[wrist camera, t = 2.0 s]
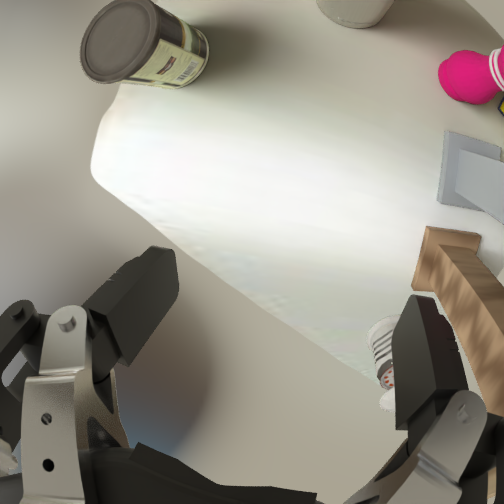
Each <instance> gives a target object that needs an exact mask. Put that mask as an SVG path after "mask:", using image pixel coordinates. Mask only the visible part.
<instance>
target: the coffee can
mask: <svg viewBox="0 0 504 504" xmlns="http://www.w3.org/2000/svg"><path fill="white" fill-rule="evenodd" d="M208 57H209V45H208V41H207V39H206V37H205V36H204V35H203V33H202V32H200V31H199V30H198V29H196V28H194V27H192V26H190V25H189V24H187V23H186V22H184V21H182V20H181V19H179V18H178V17H176V16H174V15H173V14H171V13H170V12H168V11H166V10H165V9H163V8H161V7H159V6H158V5H156V4H154V3H153V2H152V1H151V0H114V1H113V2H111V3H109V4H108V5H106V6H105V7H104V8H103V9H102V10H101V11H99V12H98V14H97V15H96V16H95V17H94V18H93V20H92V21H91V22H90V24H89V25H88V27H87V29H86V31H85V33H84V36H83V38H82V42H81V46H80V63H81V66H82V70H83V71H84V73H85V75H86V76H87V77H88V78H89V79H91V80H92V81H94V82H97V83H101V84H110V83H123V84H134V85H144V86H153V87H161V88H164V89H177V88H180V87H183V86H185V85H187V84H189V83H191V82H192V81H193V80H195V79H196V78H197V77H198V76H199V75H200V74H201V72H202V71H203V69H204V68H205V66H206V63H207V61H208Z"/></svg>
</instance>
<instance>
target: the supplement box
mask: <svg viewBox="0 0 504 504" xmlns="http://www.w3.org/2000/svg"><path fill="white" fill-rule="evenodd" d="M498 109H499V111H500V112H501V113H502V115H503V116H504V97H503V99H502V101H501V103H500V105H499V107H498Z"/></svg>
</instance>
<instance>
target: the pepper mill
mask: <svg viewBox="0 0 504 504" xmlns="http://www.w3.org/2000/svg"><path fill="white" fill-rule="evenodd" d="M438 76H439V81H440V84H441V86H442V87H443V89H444V91H445V92H446V93H447V94H448V95H449V96H450V97H451V98H453V99H455V100H457V101H466V102H468V103H471V104H477V105H479V104H484V103H487V102H489V101H490V100H491V99H493V98H494V96H495V95H496V93H497V92H500V91H504V45H503V46H502V48H499V49H495V50H493V51H492V52H491V54H490V56H485V55H482V54H479V53H477V52H474V51H468V50H462V51H458V52H455V53H453V54H452V55H451V56H450V58H449V59H447V60H445V61H443V62H442V63H441V64H440V66H439V70H438Z"/></svg>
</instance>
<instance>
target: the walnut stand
mask: <svg viewBox="0 0 504 504" xmlns="http://www.w3.org/2000/svg"><path fill="white" fill-rule="evenodd" d="M480 239H481V236H479V235H478V234H477V233H473V232H466V231H459V230H452V229H444V228H437V227H429V226H426V229H425V233H424V238H423V242H422V247H421V251H420V255H419V259H418V263H417V266H416V270H415V274H414V277H413V281H412V284H411V287H412V289H413V291H428V292H435V294H436V295H437V297H438V299H439V301H440V303H441V305H442V306H443V308H444V310H445V312H446V314H447V316H448V318H449V320H450V322H451V324H452V326H453V328H454V330H455V332H456V334H457V336H458V338H459V340H460V342H461V345H462V347H463V349H464V351H465V353H466V356H467V358H468V361H469V363H470V365H471V368H472V370H473V373H474V375H475V378H476V380H477V383H478V386H479V388H480V391H481V394H482V397H483V400H484V403H485V406H486V409H487V412H489V413H492V414H496V415H499V416H502V417H504V287H503V286H502V284H501V283H500V282H499V281H498V280H497V278H496V277H495V276H494V275H493V274H492V273H491V271H490V270H489V269H488V268H487V267H486V266H485V265H484V264H483V263H482V261H481V260H480V259H479V258H478V257H477V256H476V253H477V250H478V246H479V243H480Z"/></svg>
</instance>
